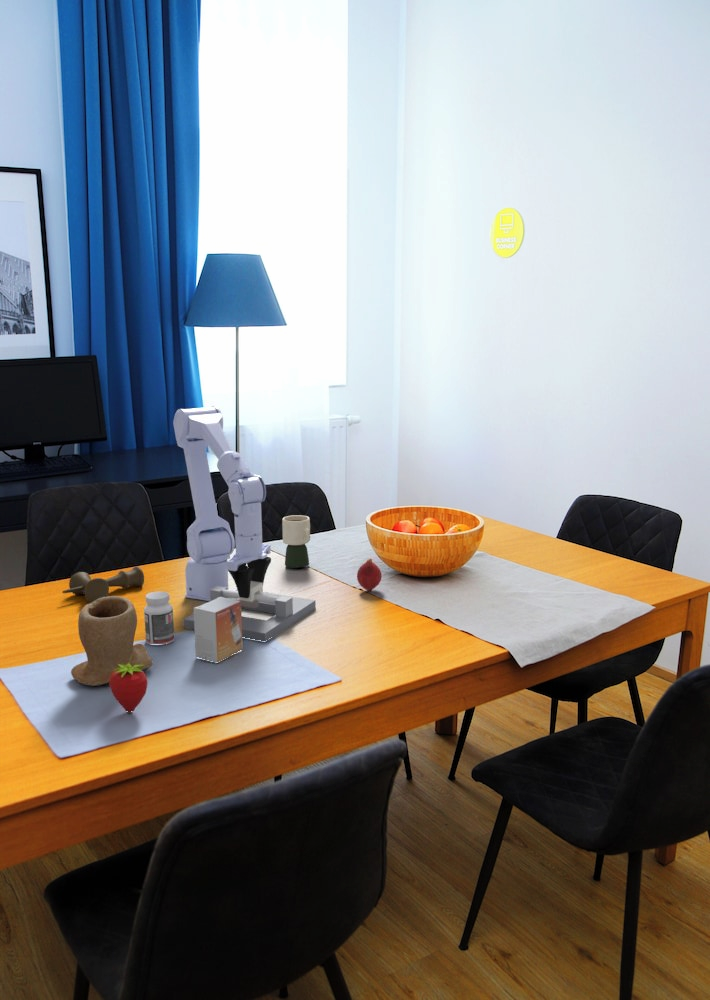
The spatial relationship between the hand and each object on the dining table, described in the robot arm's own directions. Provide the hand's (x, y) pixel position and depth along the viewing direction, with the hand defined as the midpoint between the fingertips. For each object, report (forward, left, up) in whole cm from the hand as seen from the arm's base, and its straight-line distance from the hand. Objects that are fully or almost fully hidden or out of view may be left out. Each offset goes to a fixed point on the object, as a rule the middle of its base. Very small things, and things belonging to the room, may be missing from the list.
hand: (250, 593), depth 193 cm
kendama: (-41, 0, -6) cm, 41 cm away
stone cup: (-7, -36, -6) cm, 37 cm away
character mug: (-9, +37, -6) cm, 39 cm away
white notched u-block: (0, 0, -2) cm, 2 cm away
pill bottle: (-10, -19, -6) cm, 22 cm away
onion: (+16, +27, -6) cm, 32 cm away
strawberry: (+5, -47, -6) cm, 48 cm away
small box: (+5, -20, -6) cm, 21 cm away
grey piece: (0, 0, -6) cm, 6 cm away
